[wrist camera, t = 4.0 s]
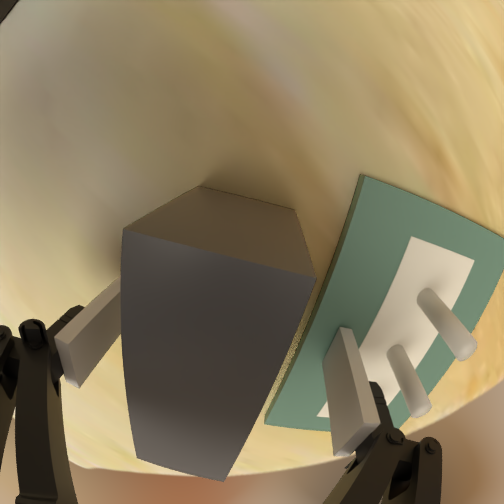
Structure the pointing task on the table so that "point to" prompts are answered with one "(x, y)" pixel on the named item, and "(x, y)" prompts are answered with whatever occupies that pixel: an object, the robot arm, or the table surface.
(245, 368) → the block
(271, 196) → the table surface
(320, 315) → the green peg board
